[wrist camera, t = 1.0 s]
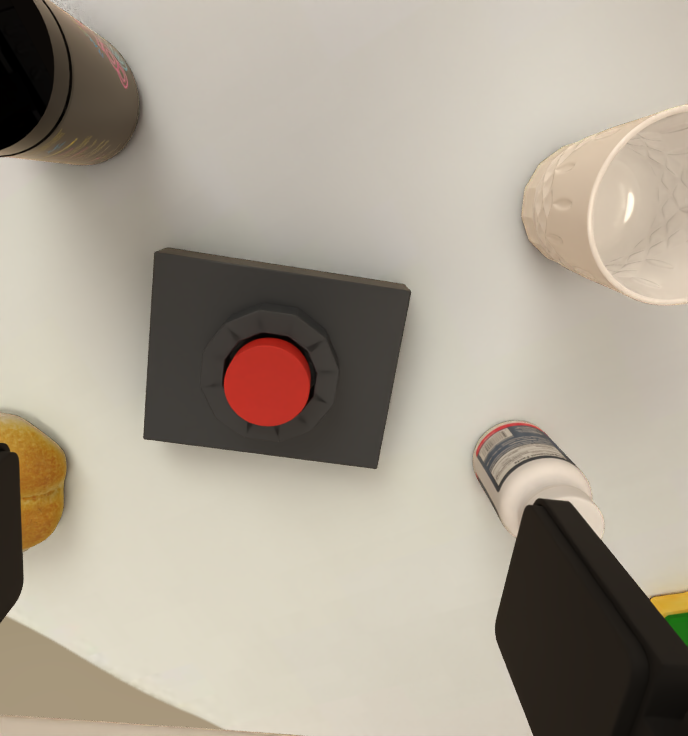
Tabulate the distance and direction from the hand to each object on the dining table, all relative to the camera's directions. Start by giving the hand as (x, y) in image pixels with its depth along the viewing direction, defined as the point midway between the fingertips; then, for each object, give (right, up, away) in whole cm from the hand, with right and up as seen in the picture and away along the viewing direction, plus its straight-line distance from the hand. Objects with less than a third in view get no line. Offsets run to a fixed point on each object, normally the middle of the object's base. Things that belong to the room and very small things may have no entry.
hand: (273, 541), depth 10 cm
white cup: (+15, +13, +22) cm, 29 cm away
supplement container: (-13, +18, +20) cm, 29 cm away
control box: (-3, +4, +24) cm, 24 cm away
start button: (-3, +3, +20) cm, 20 cm away
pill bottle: (+12, -2, +27) cm, 29 cm away
